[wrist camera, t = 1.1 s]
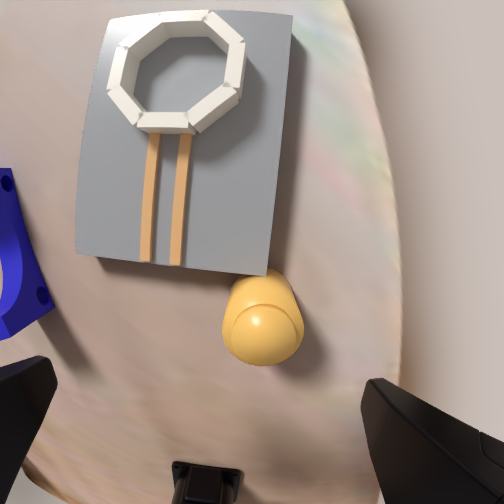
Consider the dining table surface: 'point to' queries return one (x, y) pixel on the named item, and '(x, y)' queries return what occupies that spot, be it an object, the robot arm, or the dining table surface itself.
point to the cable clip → (18, 266)
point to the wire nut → (262, 319)
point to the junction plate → (185, 140)
